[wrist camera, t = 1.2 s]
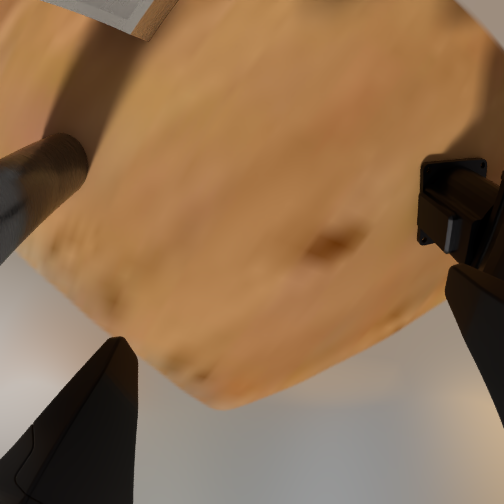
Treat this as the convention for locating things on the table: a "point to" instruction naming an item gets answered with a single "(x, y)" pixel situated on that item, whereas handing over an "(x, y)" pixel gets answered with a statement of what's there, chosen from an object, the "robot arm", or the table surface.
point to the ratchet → (123, 13)
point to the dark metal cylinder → (37, 185)
